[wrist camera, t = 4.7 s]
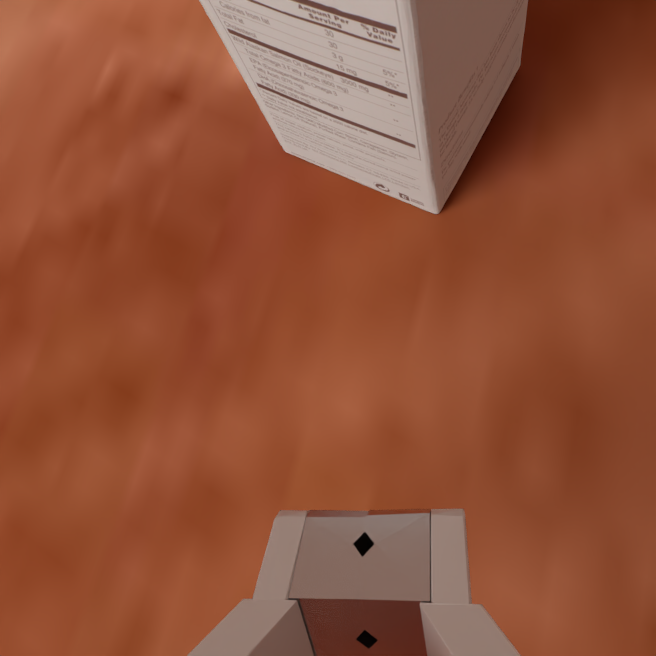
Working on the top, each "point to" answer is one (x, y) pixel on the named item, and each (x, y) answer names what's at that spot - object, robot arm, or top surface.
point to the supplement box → (377, 82)
